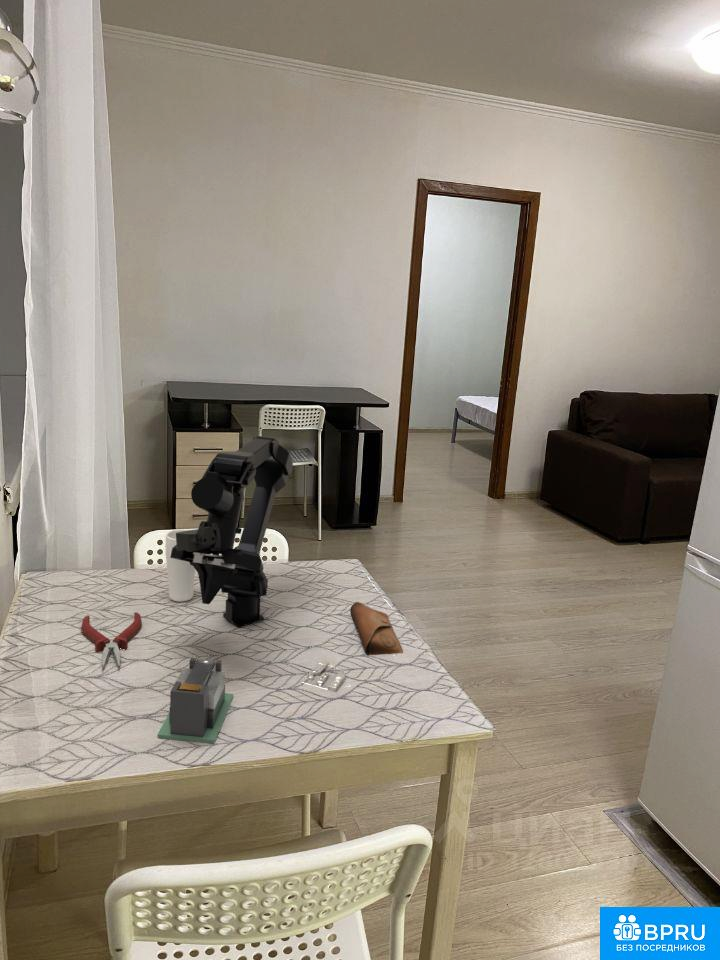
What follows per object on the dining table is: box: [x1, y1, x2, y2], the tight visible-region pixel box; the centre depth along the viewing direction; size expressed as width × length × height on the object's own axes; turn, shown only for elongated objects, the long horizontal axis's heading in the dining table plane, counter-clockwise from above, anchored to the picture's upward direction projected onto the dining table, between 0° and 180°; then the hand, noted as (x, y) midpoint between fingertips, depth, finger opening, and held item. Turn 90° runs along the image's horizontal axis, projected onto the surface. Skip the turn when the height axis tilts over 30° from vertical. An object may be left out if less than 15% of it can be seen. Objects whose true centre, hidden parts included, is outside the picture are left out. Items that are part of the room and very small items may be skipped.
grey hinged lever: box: [179, 658, 216, 692], centre depth 115 cm, size 2×3×11 cm
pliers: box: [81, 612, 143, 671], centre depth 137 cm, size 12×20×3 cm, turn 18°
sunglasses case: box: [349, 601, 404, 656], centre depth 149 cm, size 18×7×7 cm, turn 11°
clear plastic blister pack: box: [300, 661, 347, 693], centre depth 132 cm, size 8×7×2 cm
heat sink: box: [168, 667, 226, 729], centre depth 117 cm, size 8×7×6 cm
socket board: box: [156, 657, 234, 744], centre depth 116 cm, size 13×9×8 cm
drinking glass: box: [164, 528, 196, 603], centre depth 157 cm, size 7×7×15 cm
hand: (205, 603), depth 129 cm, fingers closed
